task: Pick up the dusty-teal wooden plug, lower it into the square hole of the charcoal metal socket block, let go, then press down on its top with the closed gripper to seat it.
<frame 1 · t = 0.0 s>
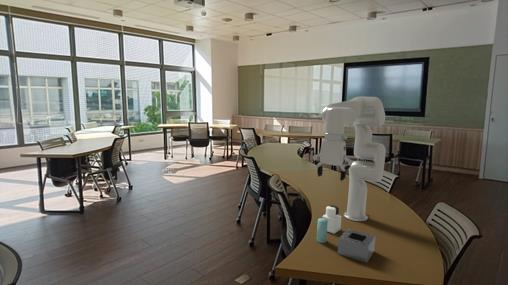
hand: (330, 177, 130), 31 cm above the table, fingers open, 9 cm apart
medicine bottle: (330, 230, 153), on the table
plug: (321, 240, 140), on the table
socket: (356, 252, 131), on the table
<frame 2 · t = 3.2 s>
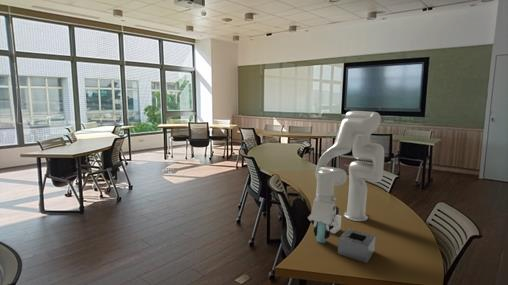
hand: (321, 236, 140), 2 cm above the table, fingers closed on plug, 4 cm apart
plug: (321, 240, 140), on the table, touching gripper
everything else where it was.
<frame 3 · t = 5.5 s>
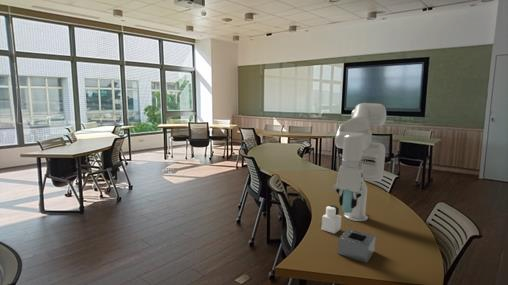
hand: (347, 205, 131), 19 cm above the table, fingers closed on plug, 4 cm apart
plug: (347, 211, 132), point 17 cm above the table, touching gripper
everything else where it was.
when the fingers open (8 cm above the table, at t = 8.3 s): plug drops 6 cm, resting in socket.
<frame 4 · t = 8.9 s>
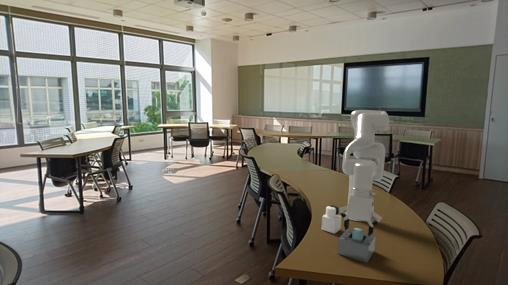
hand: (358, 231, 130), 9 cm above the table, fingers open, 9 cm apart
plug: (356, 252, 131), resting in socket
everything else where it was.
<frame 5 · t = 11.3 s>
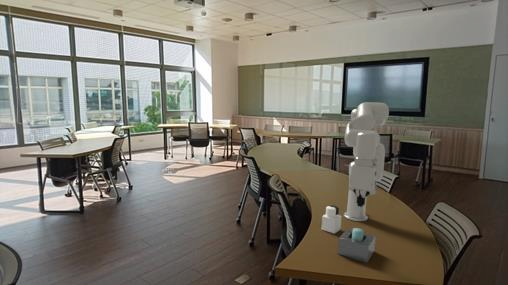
hand: (360, 205, 128), 21 cm above the table, fingers closed
nothing on the table moved.
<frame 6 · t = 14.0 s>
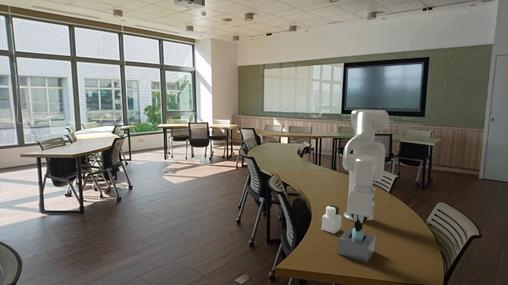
hand: (358, 230, 129), 10 cm above the table, fingers closed
plug: (356, 252, 131), resting in socket, touching gripper
everything else where it was.
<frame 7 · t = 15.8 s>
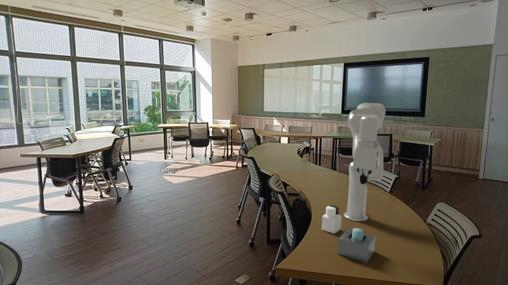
hand: (363, 183, 141), 27 cm above the table, fingers closed
plug: (356, 252, 131), resting in socket
everything else where it was.
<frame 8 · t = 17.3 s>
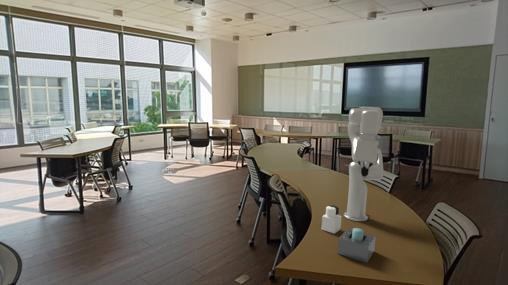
hand: (364, 175, 145), 29 cm above the table, fingers closed
nothing on the table moved.
at the end: plug 0.0 cm off-centre on the socket, point 0.0 cm above the socket's base; plug tilted 0°; the gripper is holding nothing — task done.
